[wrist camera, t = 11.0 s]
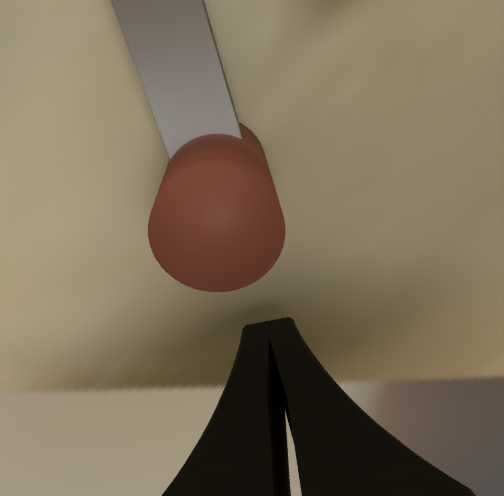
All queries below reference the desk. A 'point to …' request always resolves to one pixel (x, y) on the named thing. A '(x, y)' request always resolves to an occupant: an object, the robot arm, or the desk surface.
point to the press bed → (201, 153)
